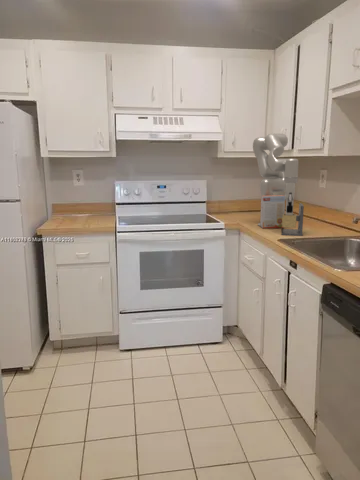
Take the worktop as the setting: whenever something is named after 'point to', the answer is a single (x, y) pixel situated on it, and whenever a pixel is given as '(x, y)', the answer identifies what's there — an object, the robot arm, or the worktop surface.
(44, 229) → the worktop surface
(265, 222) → the cracker box
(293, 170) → the robot arm
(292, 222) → the cup bracket
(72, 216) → the worktop surface
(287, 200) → the rail post
